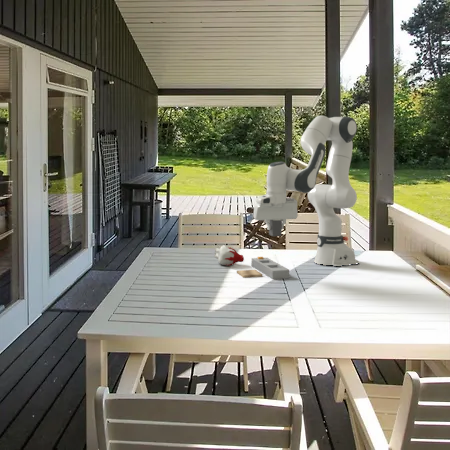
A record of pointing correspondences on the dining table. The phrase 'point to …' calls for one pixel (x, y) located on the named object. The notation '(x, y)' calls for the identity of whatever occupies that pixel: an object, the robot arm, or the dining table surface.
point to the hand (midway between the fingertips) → (275, 229)
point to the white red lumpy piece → (228, 256)
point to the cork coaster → (249, 273)
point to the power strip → (270, 268)
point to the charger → (275, 227)
